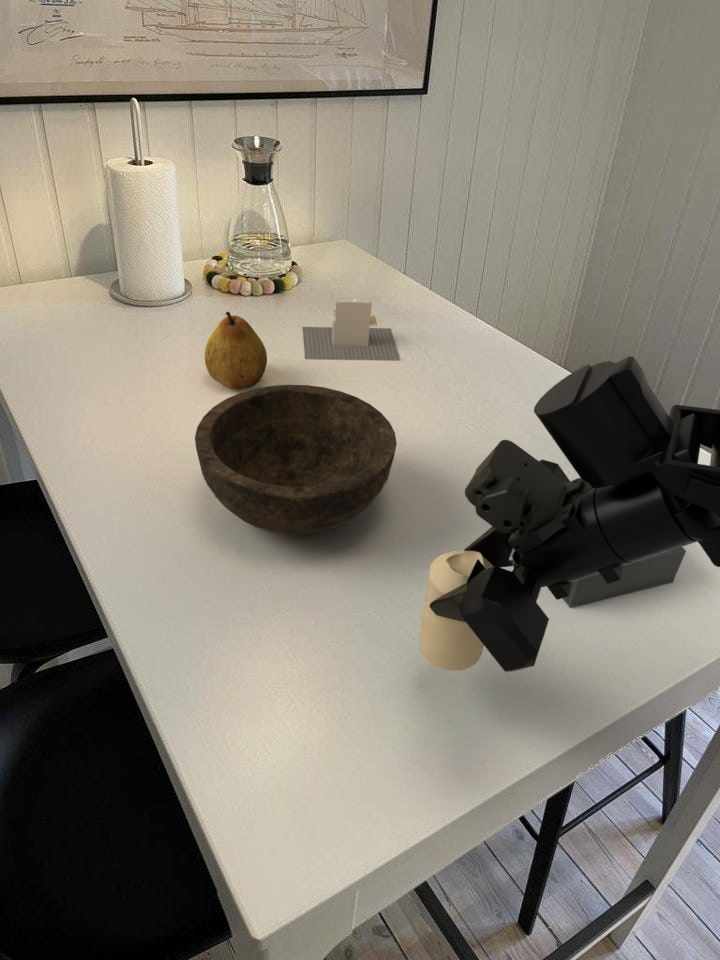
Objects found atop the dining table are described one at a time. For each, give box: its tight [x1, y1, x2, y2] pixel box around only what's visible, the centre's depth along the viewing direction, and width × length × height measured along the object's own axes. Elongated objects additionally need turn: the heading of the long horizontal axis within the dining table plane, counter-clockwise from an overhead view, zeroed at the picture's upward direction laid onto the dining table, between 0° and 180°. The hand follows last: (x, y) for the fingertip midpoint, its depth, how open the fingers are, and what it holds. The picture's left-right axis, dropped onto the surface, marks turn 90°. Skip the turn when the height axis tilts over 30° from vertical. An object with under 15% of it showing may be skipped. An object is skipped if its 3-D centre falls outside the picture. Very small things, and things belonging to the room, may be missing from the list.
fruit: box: [204, 311, 268, 391], centre depth 106 cm, size 9×9×12 cm
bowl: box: [194, 384, 397, 535], centre depth 85 cm, size 22×22×10 cm
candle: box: [418, 550, 493, 672], centre depth 62 cm, size 6×6×10 cm
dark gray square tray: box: [562, 546, 687, 608], centre depth 83 cm, size 13×13×4 cm
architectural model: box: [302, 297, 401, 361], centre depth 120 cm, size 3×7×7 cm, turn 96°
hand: (444, 586), depth 61 cm, fingers closed on candle, 5 cm apart
